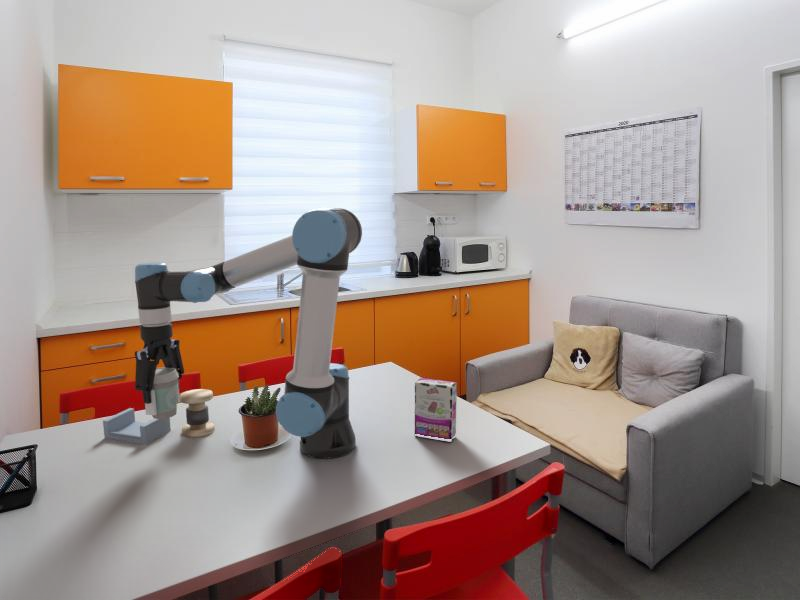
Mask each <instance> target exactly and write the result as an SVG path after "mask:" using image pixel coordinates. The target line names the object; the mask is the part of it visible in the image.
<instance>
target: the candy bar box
mask: <svg viewBox="0 0 800 600" xmlns="http://www.w3.org/2000/svg"><path fill="white" fill-rule="evenodd" d="M457 384H458V383H457V382H455V381H447V380H441V379H433V378H432V379H431V378H423V377H420V378H419V379H418V380H417V381H415V383H414V435H415V434H420V435H424V436H431V437H438V438H444V439H452V438H453V437H454V436H455V434H456V435H457V396H458V395H457V393H458V391H457V388H458V385H457Z"/></svg>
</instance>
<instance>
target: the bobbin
mask: <svg viewBox="0 0 800 600" xmlns="http://www.w3.org/2000/svg"><path fill="white" fill-rule="evenodd" d="M179 397H180V403H182V404H185V405H188V406H187V407H186V408H185V416H186V424H185V425H184V426H183V427H181V435H182V436H183V437H185V438H191V439H192V438H193V439H194V438H196V439H197V438H202V437H205V436H208V435H210V434H213V433H214V432H215V428H216V427H215V423H213V422H211V421H209V419H210V418H209V414H210V413H209V406H208V405H206V402H209V401H211V400H212V399H213V398H214V393H213V391H212V390H211V389H205V388H198V389H197V388H196V389H190V390H186V391H183V392H181V393H179Z"/></svg>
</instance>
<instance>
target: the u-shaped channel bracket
mask: <svg viewBox="0 0 800 600" xmlns="http://www.w3.org/2000/svg"><path fill="white" fill-rule="evenodd" d="M102 426H103V427H102V428H103V436H104V439H109V440H112V441H121V442H128V443H133V444H139V445H148V444H150V443H151V442H153V441H155V440H156V439H158V438H160V437H162V436H163V435H165V434H167V433H168V432H170V431H171V417H170V418H166V419H155V418H152V419H151V420H149V421H147V422H142V421H136V417H135V408H134V407H133V408H131V407H129V408H127V409H125V410H123V411H120V412H118V413H116V414H114V415H112V416H109V417H107V418H105V419H103V420H102Z"/></svg>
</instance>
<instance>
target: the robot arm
mask: <svg viewBox="0 0 800 600" xmlns="http://www.w3.org/2000/svg"><path fill="white" fill-rule="evenodd" d="M362 237H363V228H362V225H361V222H360V220H359V218H358V217H357V216H356V215H355V214H354V213H353V212H351V211H350V210H348V209H346V208H341V207H337V208H336V207H334V208H331V207H330V208H329V207H318V208H313V209H311V210H309V211H306V212H304V214H302V215H301V216H300V217H299V218H297V221H296V222H295V224H294V226H293V229H292V234H291V235H290V236H287V237H284V238H281V239H279V240H277V241H274V242H272V243H269V244H266V245H264V246H261V247H259V248H256V249H253V250H251V251H247V252H245V253H243V254H241V255H238V256H235V257H233V258H231V259H228V260H225V261H222V262H220V263H217V264H214V265H212V266H209V267H204V268H203V267H202V268H198V269H197V268H196V269H193V270H192V269H191V270H188V271H187V270H186V271H170V270H169V269H168V265H167V264H166V263H165V262H145V263H140V264H137V265H136V266H135V268H134V284H135V289H136V297H137V308H138V319H139V324H140V326H139V334H140V339H141V341H143V343H144V345H143V348H142V349H141V350H136V351H134V357H135V358H134V359H135V379H134V380H135V381H134V389H135V391H137V392H140V391H141V392H142V399H143V401H142V402H143V404H144V405H145V407H144V408H145V415H148V416H152V415H157V410H156V399H155V390H152V386H153V381H154V377H155V372H156V368H158V365H159V364H160V361H162V363H163V365H164V367H167V368H175V369H176V371H177V373H178V375H179V377H178V384H177V404H179V403H181V402H180V397H179V396H180V386H181V385H180V379H182V378H183V375H184V374H185V368H184V364H183V359H182V354H181V350H180V340H179V339H173V338H172V337H173V336H174V335H173V334H174V333H173V323H172V319H173V318H172V310H171V307H172V306H171V302H179V303H180V302H181V303H183V302H184V303H193V304H197V303H207V302H209V301H210V300H211V299H212V297H214V296H215V295H219V294H223V293H226V292H229V291H231V290H233V289H235V288H238V287H241V286H242V285H246V284H248V283H251V282H254V281H257V280H260V279H262V278H265V277H267V276H271V275H273V274H276V273H278V272H281V271H284V270H287V269H290V268H292V267H295V266H297V267H298V268H299V269H300V271H302V278H301V279H302V280H301V287H300V289H301V290H300V298H299V309H298V320H297V328H296V329H297V330H296V337H295V338H296V340H295V348H294V349H295V350H294V357H293V366H292V367H293V368H292V369H291V370H290V371H289V372H288V373H287V374H286V376H285V383H284V384H285V385H284V394H283V395H282V396H280V398H278V399H279V400H278V401H277V404H276V406H275V416H276V419H277V421H278V423H279V425H280V426H282V428H283V429H284V431H285V432H287V433H289V434H291V436H295V437H300V438H299V450H300V452H301V453H302V454H304V455H306V456H308V457H311V458H316V459H334V458H339V456H340V457H343V456H346V455H348V454H349V452H350V453H351V452H353V451H354V450H355V448H356V446H357V445H356V440H357V439H356V435H355V431H354V429H353V426H352V423H351V421H350V392H349V391H350V387H349V386H350V383H349V381H350V376H349V368H348V367H347V366H346V365H343V364H340V363H332V362H331V357H332V349H333V340H334V332H335V322H336V315H337V314H336V313H337V305H338V298H339V297H338V295H339V288H340V280H341V279H340V278H341V276H342V275H343V274H345V273H346V272H347V271H348V267H349V260H350V259H349V258H350V254H351V253H353V252H354V251H355V250H356V249H357V248H358V247H359V245H360V243H361V241H362ZM171 338H172V339H171ZM147 385H148V386H147ZM355 445H356V446H355ZM353 449H354V450H353ZM352 450H353V451H352ZM347 453H348V454H347ZM345 454H346V455H345Z"/></svg>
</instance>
